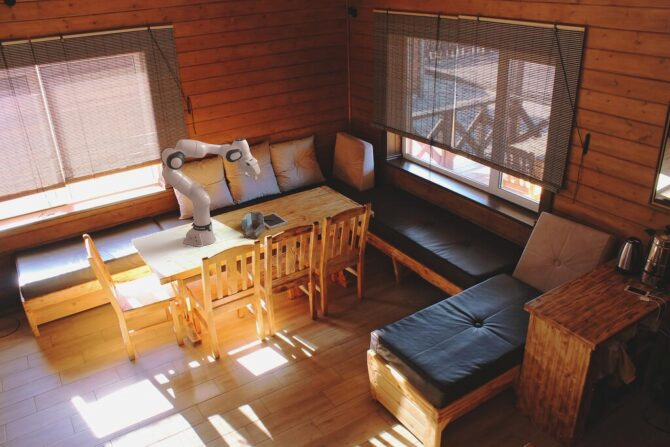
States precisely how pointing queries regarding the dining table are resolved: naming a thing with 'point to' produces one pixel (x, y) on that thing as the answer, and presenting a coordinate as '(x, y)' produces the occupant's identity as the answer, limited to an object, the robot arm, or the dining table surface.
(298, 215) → the dining table surface
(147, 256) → the dining table surface
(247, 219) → the book
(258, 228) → the book rack
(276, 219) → the picture frame
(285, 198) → the dining table surface
